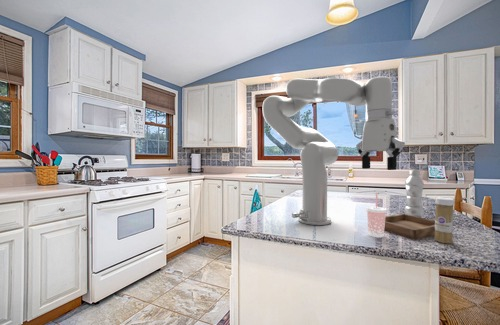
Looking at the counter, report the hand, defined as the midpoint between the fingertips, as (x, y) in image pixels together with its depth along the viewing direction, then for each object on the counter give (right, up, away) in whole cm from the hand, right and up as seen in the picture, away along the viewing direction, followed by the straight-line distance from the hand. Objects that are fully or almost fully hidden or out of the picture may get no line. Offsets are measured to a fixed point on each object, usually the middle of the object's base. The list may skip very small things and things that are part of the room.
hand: (378, 169), depth 83 cm
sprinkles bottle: (+18, -22, -5) cm, 29 cm away
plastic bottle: (+27, -21, +24) cm, 42 cm away
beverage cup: (0, -22, +1) cm, 22 cm away
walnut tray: (+14, -22, +7) cm, 27 cm away
